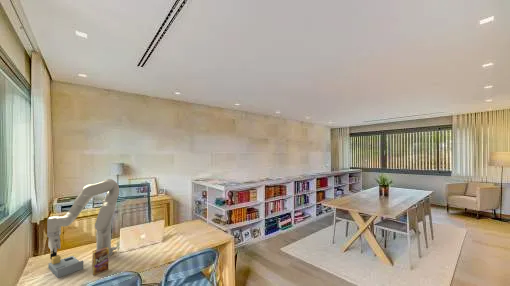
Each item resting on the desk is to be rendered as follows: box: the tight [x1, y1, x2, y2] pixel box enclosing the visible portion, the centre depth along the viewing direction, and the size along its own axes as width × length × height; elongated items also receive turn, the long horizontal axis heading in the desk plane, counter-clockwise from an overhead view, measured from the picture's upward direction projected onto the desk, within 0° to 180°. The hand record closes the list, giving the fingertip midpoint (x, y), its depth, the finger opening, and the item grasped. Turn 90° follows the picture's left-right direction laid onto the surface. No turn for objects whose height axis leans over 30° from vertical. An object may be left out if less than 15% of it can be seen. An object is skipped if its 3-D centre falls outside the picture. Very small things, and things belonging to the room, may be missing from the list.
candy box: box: [91, 247, 110, 276], centre depth 154 cm, size 9×4×15 cm, turn 140°
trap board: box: [47, 255, 84, 279], centre depth 158 cm, size 14×21×6 cm, turn 55°
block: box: [50, 254, 62, 264], centre depth 160 cm, size 4×4×4 cm
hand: (53, 258), depth 164 cm, fingers closed
